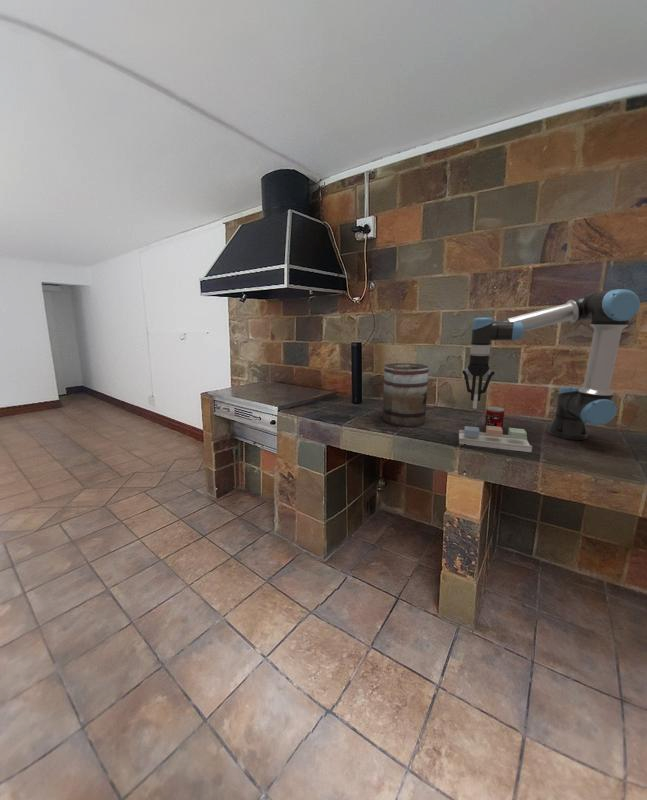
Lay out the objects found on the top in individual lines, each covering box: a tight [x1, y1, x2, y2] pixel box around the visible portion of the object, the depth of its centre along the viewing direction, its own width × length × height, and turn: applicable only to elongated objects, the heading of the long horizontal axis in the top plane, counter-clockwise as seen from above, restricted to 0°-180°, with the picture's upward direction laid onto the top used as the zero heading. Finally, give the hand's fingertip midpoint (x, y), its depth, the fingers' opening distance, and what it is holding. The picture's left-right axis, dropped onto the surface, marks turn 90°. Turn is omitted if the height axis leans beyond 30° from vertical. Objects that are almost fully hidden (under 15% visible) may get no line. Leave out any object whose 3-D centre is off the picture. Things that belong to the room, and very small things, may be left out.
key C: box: [463, 425, 481, 437], centre depth 152 cm, size 6×6×3 cm
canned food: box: [484, 406, 505, 431], centre depth 166 cm, size 8×8×11 cm
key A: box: [507, 427, 528, 439], centre depth 146 cm, size 6×6×3 cm
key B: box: [485, 426, 504, 437], centre depth 149 cm, size 6×6×3 cm
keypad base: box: [458, 429, 533, 453], centre depth 150 cm, size 28×12×3 cm, turn 69°
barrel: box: [382, 362, 430, 429], centre depth 179 cm, size 22×22×30 cm
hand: (474, 407), depth 149 cm, fingers closed
